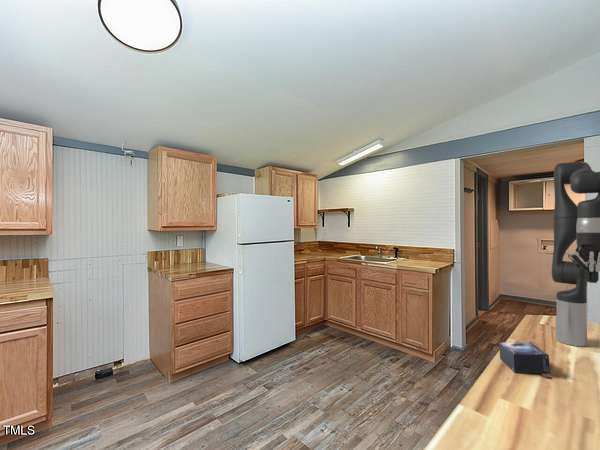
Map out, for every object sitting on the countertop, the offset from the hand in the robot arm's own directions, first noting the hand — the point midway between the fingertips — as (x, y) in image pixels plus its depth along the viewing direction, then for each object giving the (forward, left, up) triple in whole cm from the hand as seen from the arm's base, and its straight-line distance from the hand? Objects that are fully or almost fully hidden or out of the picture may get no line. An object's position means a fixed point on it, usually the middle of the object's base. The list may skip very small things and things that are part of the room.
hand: (591, 282), depth 98 cm
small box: (+4, -17, -25) cm, 30 cm away
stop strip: (+4, -18, -29) cm, 35 cm away
